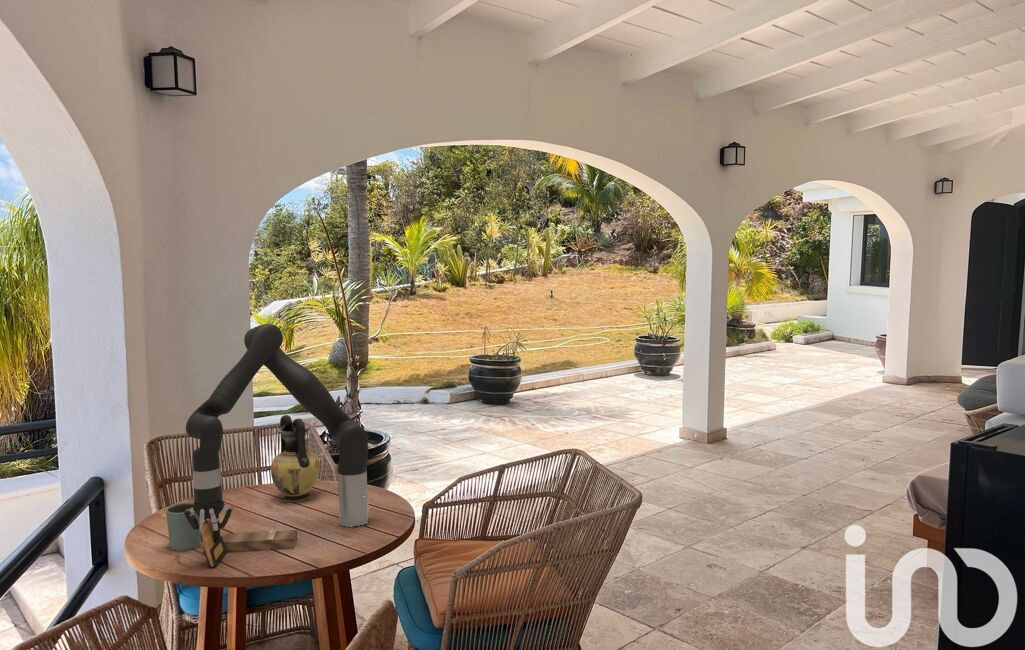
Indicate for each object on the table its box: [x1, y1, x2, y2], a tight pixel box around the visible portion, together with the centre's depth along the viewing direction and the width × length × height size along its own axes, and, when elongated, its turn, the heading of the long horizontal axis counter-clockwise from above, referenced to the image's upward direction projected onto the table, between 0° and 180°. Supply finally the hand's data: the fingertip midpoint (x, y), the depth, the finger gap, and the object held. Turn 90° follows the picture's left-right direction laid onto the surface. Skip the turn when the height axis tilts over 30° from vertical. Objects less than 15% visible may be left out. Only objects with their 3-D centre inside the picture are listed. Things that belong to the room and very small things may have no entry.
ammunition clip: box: [200, 519, 228, 569], centre depth 212 cm, size 11×2×12 cm, turn 5°
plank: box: [202, 529, 299, 554], centre depth 223 cm, size 26×7×3 cm, turn 97°
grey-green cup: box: [165, 501, 201, 552], centre depth 224 cm, size 10×10×12 cm
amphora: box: [270, 414, 321, 503], centre depth 265 cm, size 18×17×30 cm
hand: (210, 541), depth 212 cm, fingers closed on ammunition clip, 2 cm apart
